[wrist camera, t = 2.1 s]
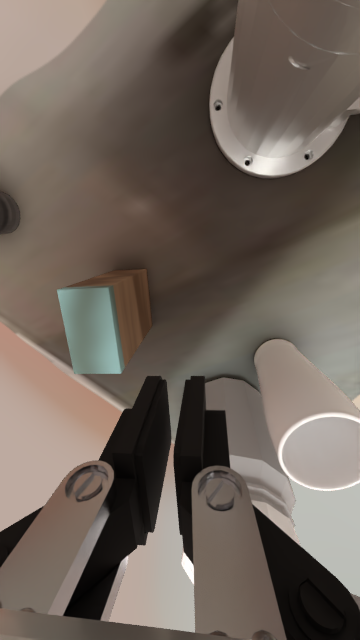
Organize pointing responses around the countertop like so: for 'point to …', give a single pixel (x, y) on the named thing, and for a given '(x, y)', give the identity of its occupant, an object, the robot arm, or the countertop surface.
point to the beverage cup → (8, 214)
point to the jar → (251, 453)
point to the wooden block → (106, 320)
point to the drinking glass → (308, 419)
